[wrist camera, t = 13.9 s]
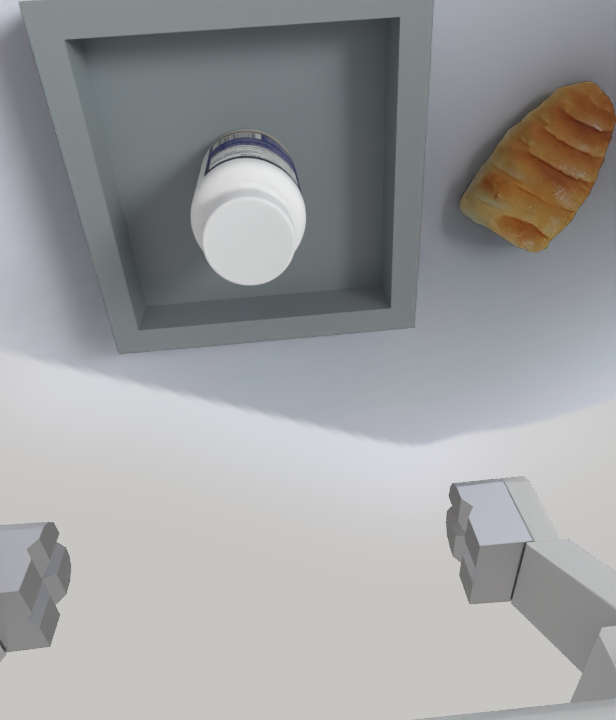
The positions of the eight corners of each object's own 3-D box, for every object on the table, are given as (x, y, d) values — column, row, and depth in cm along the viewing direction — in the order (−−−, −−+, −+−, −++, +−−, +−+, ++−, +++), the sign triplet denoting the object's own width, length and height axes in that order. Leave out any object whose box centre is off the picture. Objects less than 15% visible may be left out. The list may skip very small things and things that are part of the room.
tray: (413, -26, 28) (435, -26, 25) (400, 297, 38) (414, 327, 35) (46, -2, 28) (18, 1, 24) (130, 321, 38) (118, 354, 34)
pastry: (541, 54, 31) (575, 63, 28) (630, 111, 33) (671, 125, 30) (446, 207, 36) (465, 230, 32) (530, 249, 38) (556, 274, 35)
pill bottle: (266, 239, 34) (271, 320, 26) (184, 194, 32) (161, 266, 24) (314, 160, 32) (336, 222, 24) (228, 106, 30) (220, 154, 22)
